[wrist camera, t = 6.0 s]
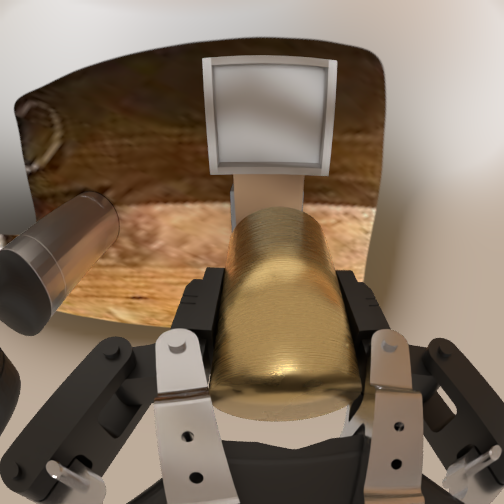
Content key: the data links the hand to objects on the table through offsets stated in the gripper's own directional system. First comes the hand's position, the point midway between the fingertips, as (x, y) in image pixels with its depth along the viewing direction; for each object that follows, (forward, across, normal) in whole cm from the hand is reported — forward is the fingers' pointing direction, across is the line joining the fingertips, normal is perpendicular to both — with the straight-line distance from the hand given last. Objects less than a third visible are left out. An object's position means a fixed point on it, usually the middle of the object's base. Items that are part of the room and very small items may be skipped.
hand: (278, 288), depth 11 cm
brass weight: (+2, 0, -1) cm, 2 cm away
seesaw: (+16, 0, +5) cm, 17 cm away
